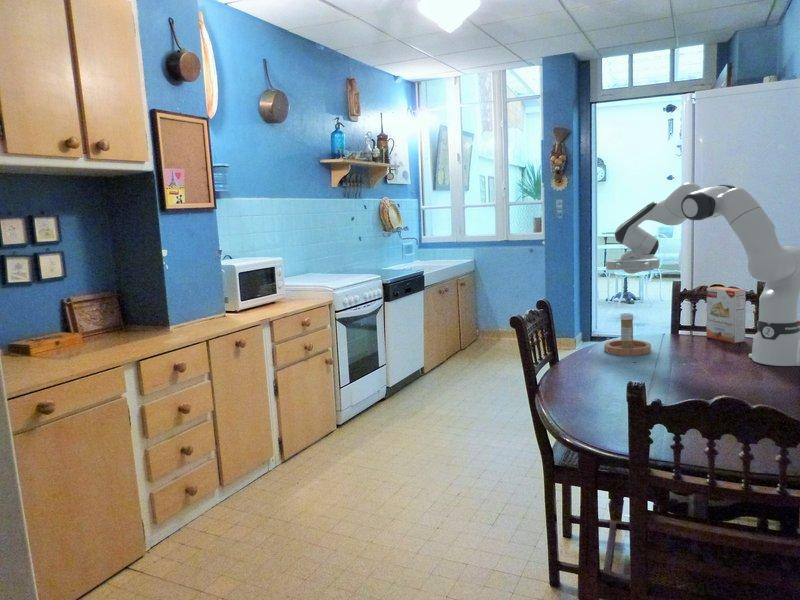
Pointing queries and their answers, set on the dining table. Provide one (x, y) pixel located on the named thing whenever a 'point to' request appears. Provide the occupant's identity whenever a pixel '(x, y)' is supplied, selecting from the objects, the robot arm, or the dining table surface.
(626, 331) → the sprinkles bottle
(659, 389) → the dining table surface
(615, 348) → the terracotta saucer
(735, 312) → the cracker box
